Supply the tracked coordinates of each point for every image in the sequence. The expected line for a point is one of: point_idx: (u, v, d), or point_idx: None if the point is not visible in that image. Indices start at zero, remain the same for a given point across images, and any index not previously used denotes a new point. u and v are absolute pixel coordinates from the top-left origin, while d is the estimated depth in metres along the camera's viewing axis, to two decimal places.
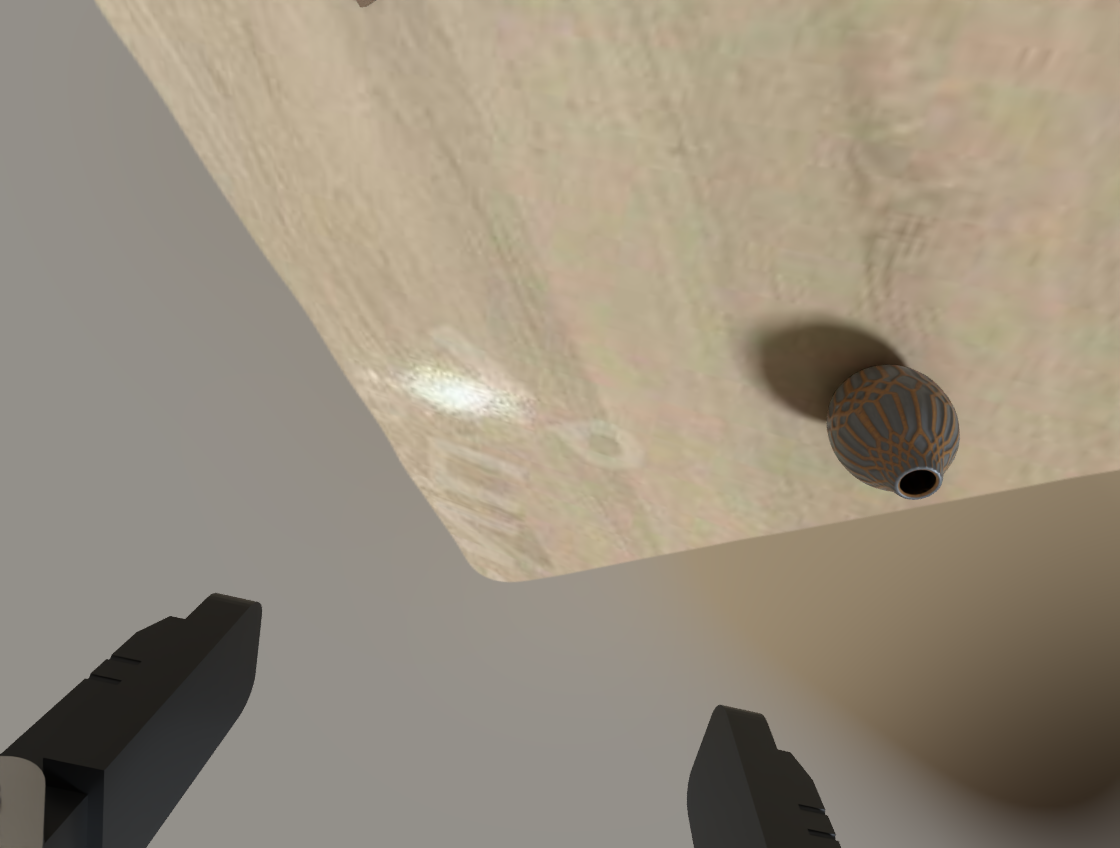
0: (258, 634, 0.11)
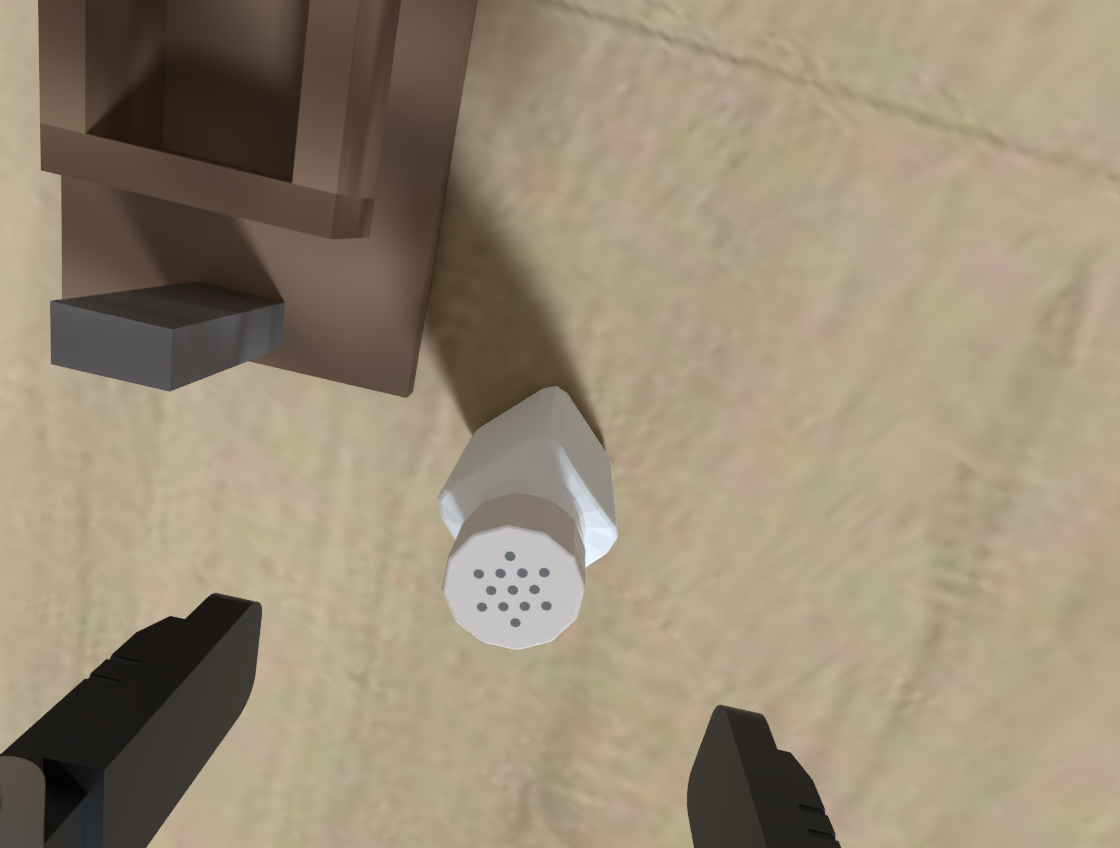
0: (258, 633, 0.11)
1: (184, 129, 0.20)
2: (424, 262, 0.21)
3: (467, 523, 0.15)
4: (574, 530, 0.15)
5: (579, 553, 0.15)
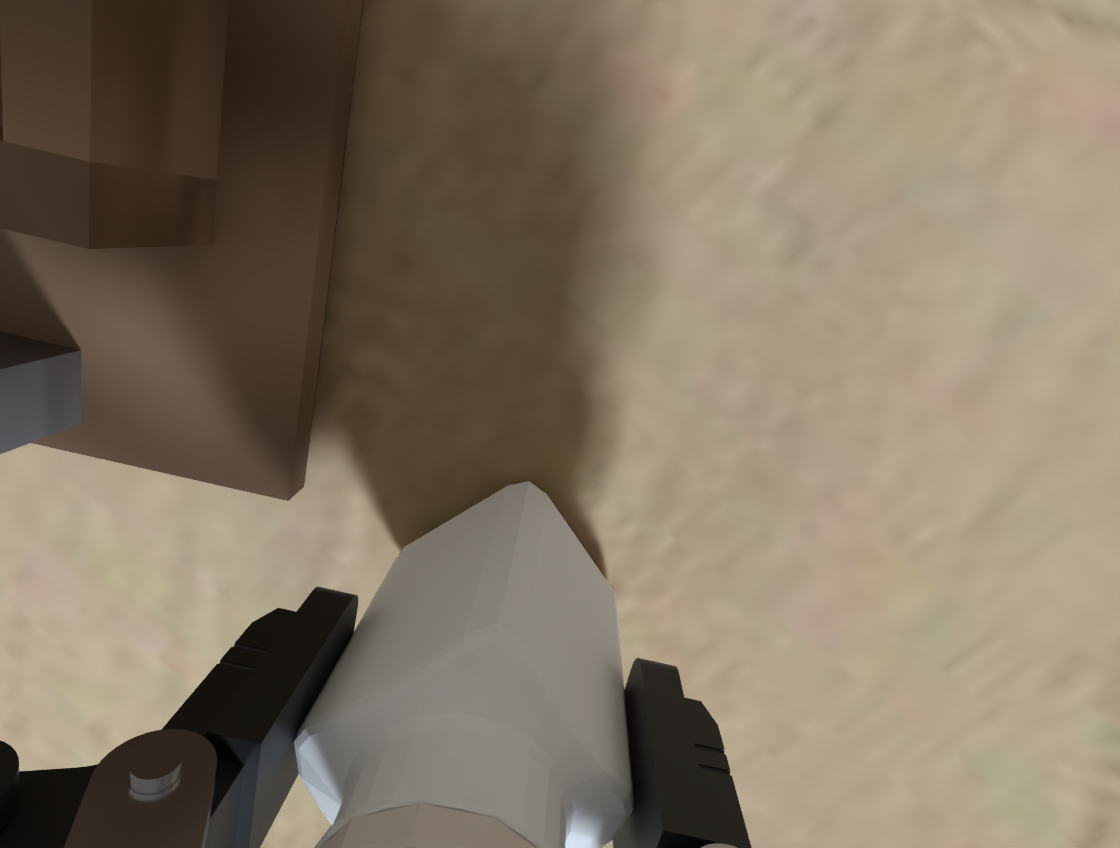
0: (353, 625, 0.12)
1: None
2: (306, 286, 0.12)
3: None
4: None
5: None
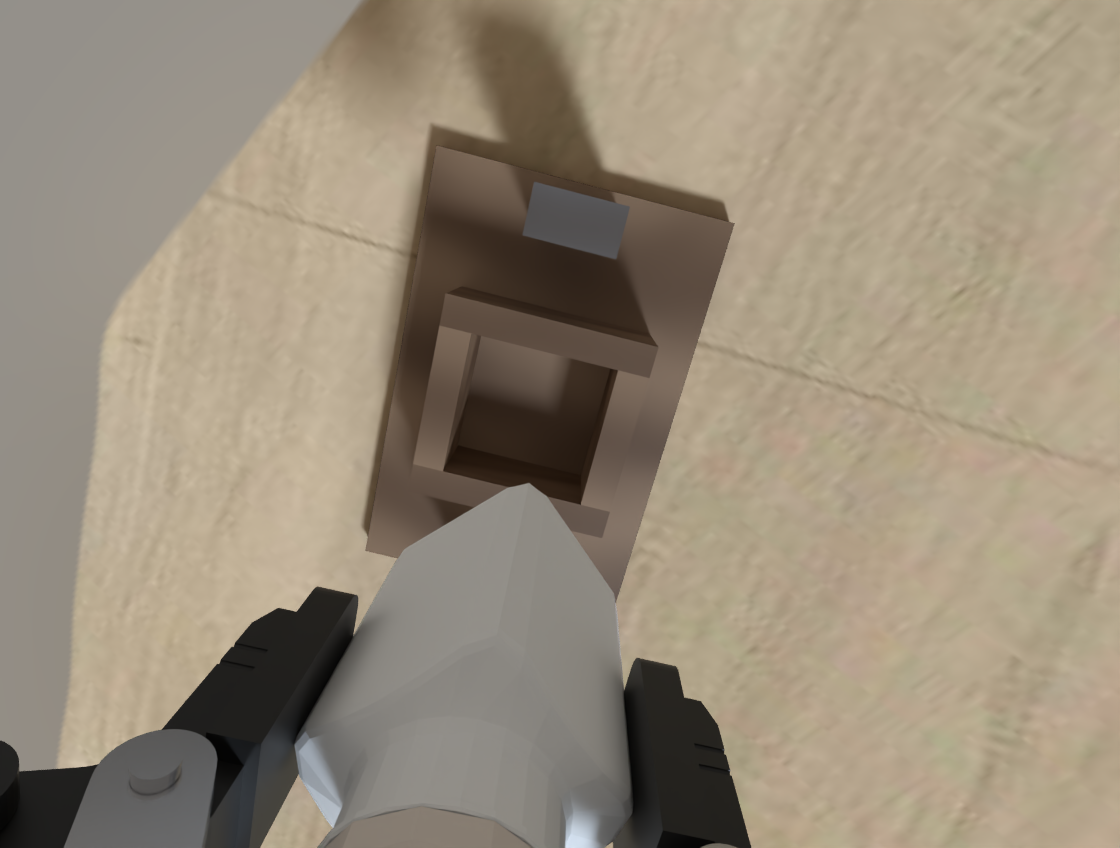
0: (353, 625, 0.12)
1: (476, 434, 0.28)
2: (638, 522, 0.29)
3: None
4: None
5: None
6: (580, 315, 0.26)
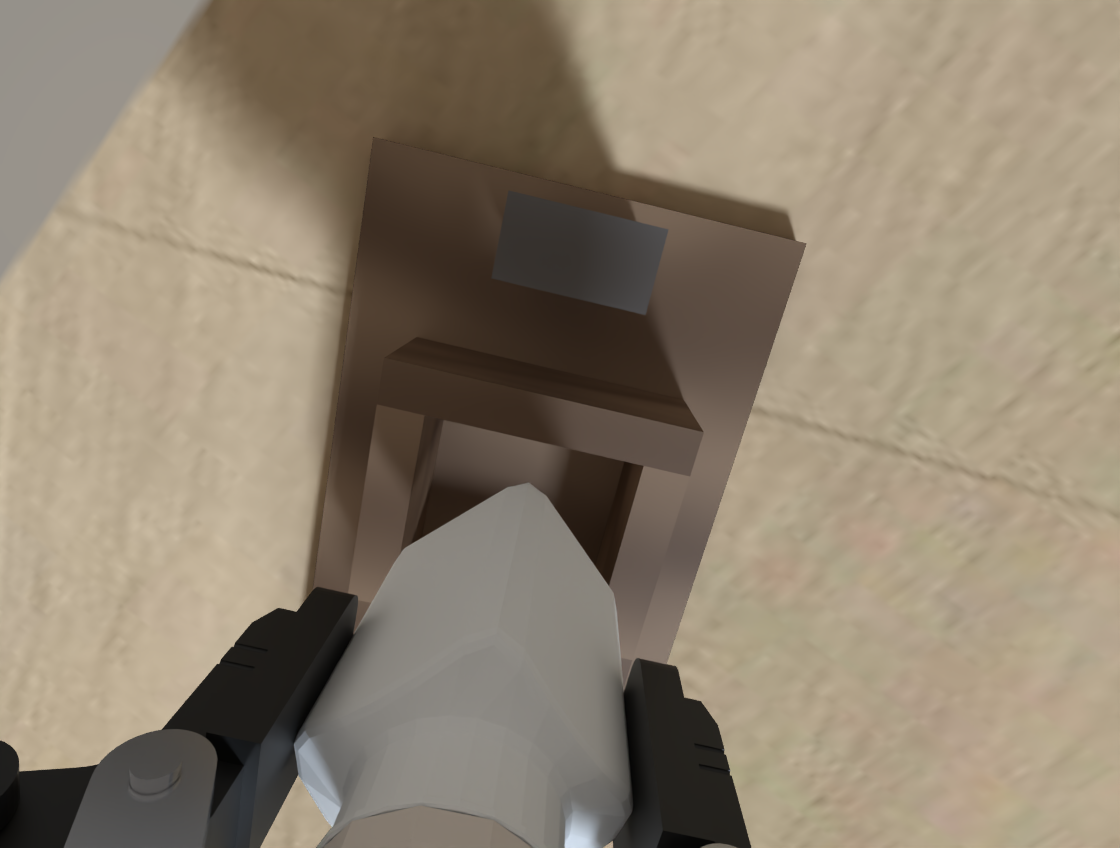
0: (354, 625, 0.12)
1: None
2: (667, 649, 0.21)
3: None
4: None
5: None
6: (585, 375, 0.19)
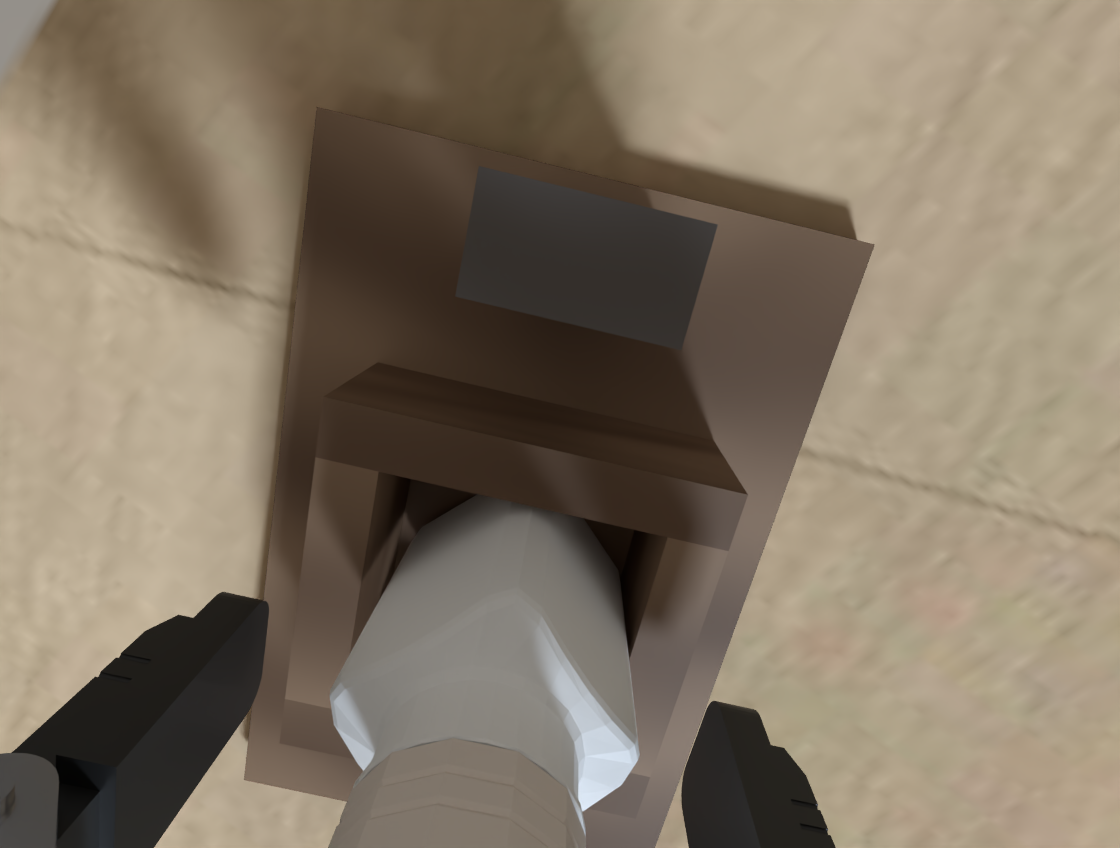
0: (266, 632, 0.11)
1: None
2: (689, 739, 0.17)
3: (356, 801, 0.08)
4: (565, 819, 0.08)
5: None
6: (590, 410, 0.15)
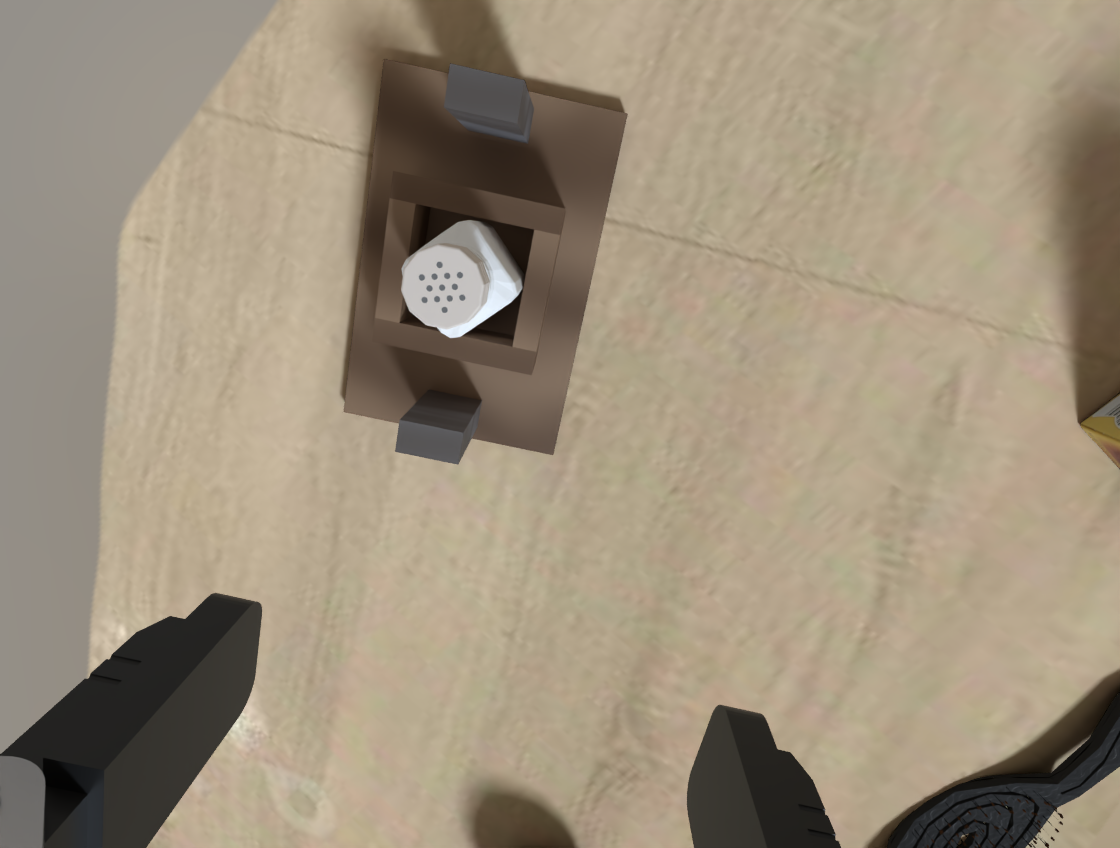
0: (259, 634, 0.11)
1: None
2: (568, 376, 0.35)
3: None
4: (481, 262, 0.25)
5: (483, 273, 0.25)
6: None
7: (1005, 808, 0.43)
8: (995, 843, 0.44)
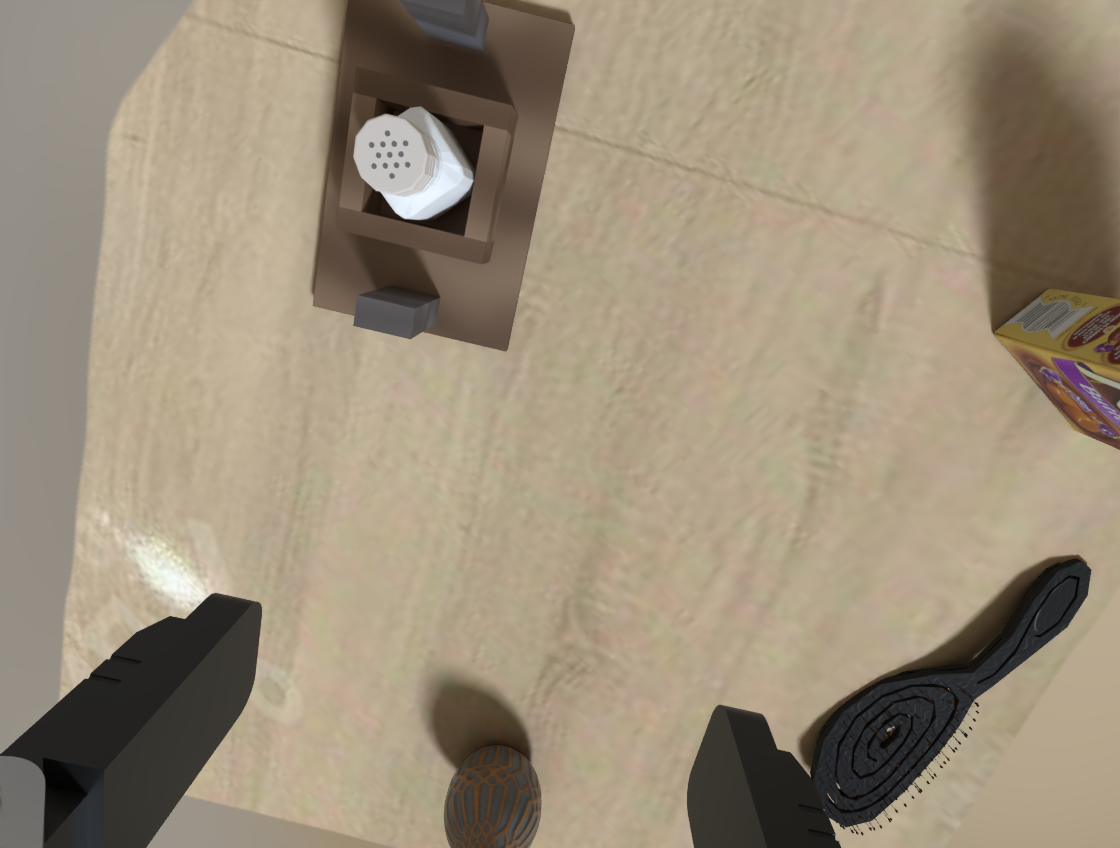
0: (258, 634, 0.11)
1: None
2: (519, 275, 0.38)
3: None
4: (427, 137, 0.28)
5: (428, 145, 0.28)
6: None
7: (928, 701, 0.46)
8: (919, 736, 0.47)
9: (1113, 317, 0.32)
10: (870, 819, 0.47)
